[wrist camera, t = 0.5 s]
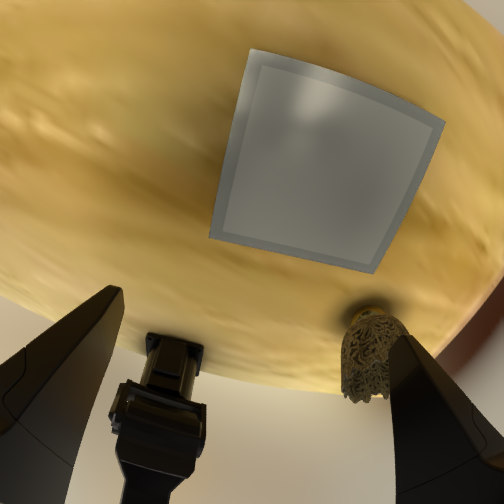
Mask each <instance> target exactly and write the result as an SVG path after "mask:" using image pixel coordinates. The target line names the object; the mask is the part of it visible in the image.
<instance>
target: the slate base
mask: <svg viewBox="0 0 504 504" xmlns="http://www.w3.org/2000/svg"><path fill="white" fill-rule="evenodd" d="M445 123H446V122H445V121H444V120H442V119H440V118H438V117H437V116H435V115H433V114H431V113H429V112H427V111H425V110H424V109H422V108H420V107H418V106H416V105H414V104H412V103H410V102H408V101H406V100H404V99H401V98H399V97H397V96H395V95H393V94H391V93H388V92H386V91H384V90H382V89H379V88H377V87H375V86H372V85H370V84H367V83H365V82H362V81H360V80H357V79H355V78H352V77H349V76H347V75H344V74H341V73H338V72H335V71H332V70H329V69H326V68H323V67H320V66H317V65H314V64H311V63H307V62H304V61H300V60H297V59H293V58H290V57H286V56H282V55H278V54H274V53H270V52H266V51H261V50H256V49H252V48H250V52H249V56H248V60H247V64H246V68H245V72H244V76H243V80H242V84H241V88H240V92H239V96H238V100H237V104H236V108H235V113H234V117H233V121H232V126H231V130H230V135H229V139H228V144H227V148H226V153H225V157H224V162H223V167H222V172H221V176H220V181H219V186H218V191H217V196H216V201H215V206H214V211H213V217H212V222H211V227H210V233H209V238H212V239H216V240H221V241H226V242H230V243H235V244H239V245H244V246H248V247H253V248H257V249H262V250H266V251H271V252H275V253H280V254H284V255H289V256H293V257H298V258H302V259H307V260H311V261H316V262H320V263H325V264H329V265H334V266H338V267H343V268H347V269H351V270H356V271H360V272H365V273H369V274H374V272H375V270H376V269H377V267H378V265H379V263H380V262H381V260H382V258H383V256H384V255H385V253H386V251H387V249H388V247H389V245H390V244H391V242H392V240H393V238H394V236H395V234H396V232H397V230H398V228H399V227H400V225H401V223H402V221H403V219H404V217H405V215H406V213H407V211H408V209H409V207H410V205H411V203H412V200H413V198H414V196H415V194H416V192H417V190H418V188H419V186H420V183H421V181H422V179H423V177H424V174H425V172H426V170H427V168H428V165H429V163H430V161H431V158H432V156H433V154H434V151H435V149H436V146H437V144H438V141H439V139H440V136H441V134H442V131H443V128H444V126H445Z"/></svg>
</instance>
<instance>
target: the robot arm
mask: <svg viewBox="0 0 504 504" xmlns="http://www.w3.org/2000/svg"><path fill="white" fill-rule="evenodd" d="M124 309H125V306H124V298H123V290H122V288H121V287H117V286H113V285H108V286H106V287H105V288H104V289H102V290H101V291H99V292H98V293H96V294H95V295H94V296H92V297H91V298H89V299H88V300H87V301H85V302H84V303H82V304H81V305H80V306H78V307H77V308H75V309H74V310H73V311H71V312H70V313H69V314H67V315H66V316H64V317H63V318H62V319H60V320H59V321H58V322H56V323H55V324H54V325H53V326H51V327H50V328H48V329H47V330H46V331H44V332H43V333H42V334H40V335H39V336H38V337H36V339H34V340H33V341H31V342H30V343H29V344H27V345H26V348H25V347H23V348H22V349H21V350H20V351H18V352H17V353H16V354H15V355H13V356H12V357H10V358H9V359H8V360H6V361H5V362H4V363H3V364H1V365H0V504H64V503H65V499H66V495H67V491H68V487H69V483H70V479H71V475H72V472H73V467H74V464H75V461H76V457H77V454H78V450H79V447H80V444H81V441H82V437H83V434H84V431H85V428H86V425H87V422H88V419H89V416H90V413H91V410H92V407H93V405H94V402H95V399H96V396H97V393H98V391H99V388H100V385H101V383H102V380H103V377H104V375H105V372H106V369H107V367H108V364H109V362H110V359H111V356H112V353H113V349H114V346H115V342H116V339H117V335H118V332H119V328H120V325H121V321H122V318H123V315H124ZM146 351H147V361H146V364H145V367H144V371H143V374H142V377H141V381H140V384H138V383H135V382H133V381H132V380H130V379H128V380H127V382H126V383H120V385H119V388H118V391H117V394H116V397H115V399H114V402H113V405H112V407H111V409H110V412H109V415H108V417H109V419H110V421H111V422H112V424H111V426H113V427H112V433H113V434H116V435H118V439H117V443H116V447H115V454H116V457H117V460H118V463H119V466H120V469H121V471H122V474H123V477H124V485H123V490H122V494H121V499H120V504H169V499H170V494H171V492H172V491H173V490H174V489H175V488H176V487H177V486H178V485H179V484H180V483H181V482H182V481H183V480H184V479H187V478H189V477H190V475H191V474H192V473H193V472H194V470H195V462H196V458H199V457H200V455H201V453H202V451H203V448H204V445H205V440H206V404H203V403H201V404H200V403H196V402H193V401H191V395H192V389H193V384H194V379H195V376H198V375H199V371H200V366H201V361H202V356H203V351H204V347H203V346H201V345H198V344H193V343H189V342H184V341H180V340H175V339H171V338H167V337H163V336H159V335H155V334H151V333H148V334H147V335H146ZM388 367H389V394H390V404H391V413H392V423H393V435H394V451H395V475H396V504H504V437H503V436H502V435H501V434H500V433H499V432H498V431H497V430H496V429H495V428H494V427H493V426H492V425H491V424H490V422H489V421H488V420H487V419H486V418H485V417H484V416H483V415H482V414H481V412H480V411H479V410H478V409H477V408H476V406H475V405H474V404H473V403H471V400H470V399H469V398H468V397H467V396H466V395H465V393H464V392H463V391H462V390H461V389H460V388H459V387H458V385H457V384H456V383H455V382H454V381H453V380H452V379H451V377H450V376H449V375H448V374H447V373H446V372H445V371H444V369H443V368H442V367H441V366H440V365H439V364H438V363H437V362H436V360H435V359H434V358H433V357H432V356H431V355H430V354H429V353H428V352H427V351H426V349H425V348H424V347H423V346H422V345H421V344H420V343H419V342H418V341H417V340H416V339H415V338H414V337H413V336H412V335H410V334H401V335H400V336H399V337H398V338H397V340H396V341H395V342H394V343H393V345H392V346H391V347H390V349H389V351H388ZM127 401H128V402H127Z"/></svg>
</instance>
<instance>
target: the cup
mask: <svg viewBox="0 0 504 504" xmlns="http://www.w3.org/2000/svg"><path fill="white" fill-rule="evenodd" d="M401 334H409V332H408V331H407V329H406V328H405V326H404V325H403V324H402V323H401V322H400V321H399V320H398V319H396V318H394V317H393V316H390V315H386V313H385V312H384V311H383V310H382V309H381V308H380V307H378V306H366V307H363V308H361V309H359V310H358V311H357V312H356V313H355V314H354V315H353V317H352V320H351V327H350V328H349V329H348V331H347V332H346V334H345V336H344V339H343V342H342V348H341V391H342V393H343V394H344V397H345V398H347V395H348V396H349V398H350V400H351V401H353V403H357V402H359V401H360V400H363V402H365V403H369V401H370V399H371V396H372V395H371V394H373V395H378V393H381V395H383V397H384V399H386V400H387V399H388V397H389V367H388V351H389V349H390V347H391V346H392V345H393V343H394V342H395V341H396V340H397V338H398V337H399V336H400V335H401Z"/></svg>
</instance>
